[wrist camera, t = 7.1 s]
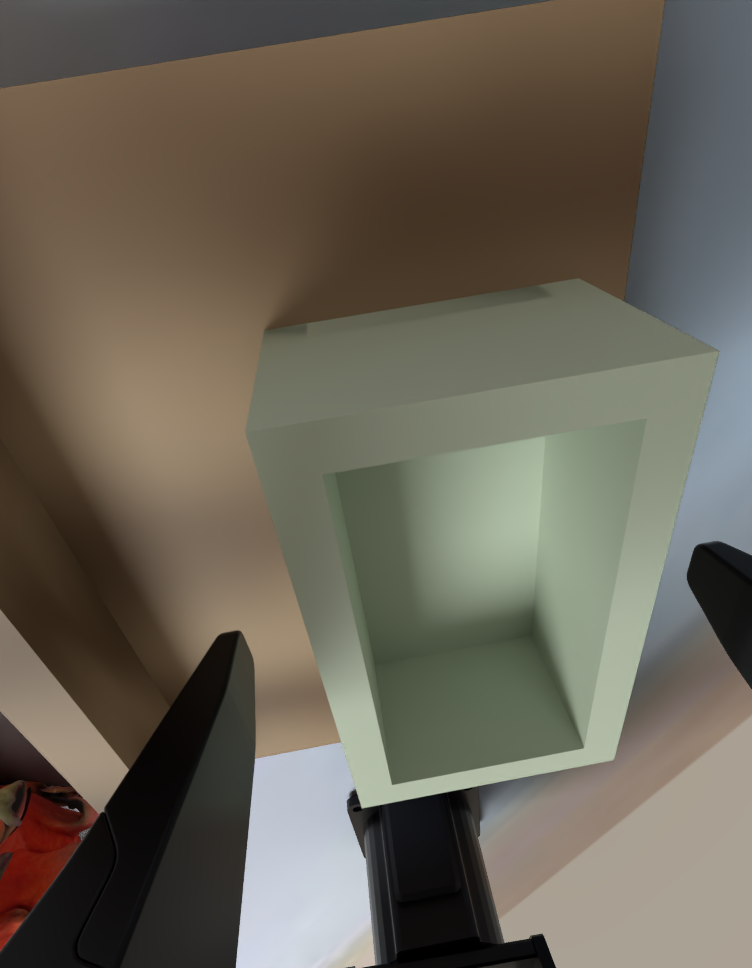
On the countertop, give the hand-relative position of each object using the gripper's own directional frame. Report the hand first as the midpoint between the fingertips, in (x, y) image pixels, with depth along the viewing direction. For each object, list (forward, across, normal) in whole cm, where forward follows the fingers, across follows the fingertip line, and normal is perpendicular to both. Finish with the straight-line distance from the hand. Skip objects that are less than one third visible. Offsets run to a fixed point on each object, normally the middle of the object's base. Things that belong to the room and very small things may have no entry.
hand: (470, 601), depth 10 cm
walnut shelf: (+6, +3, 0) cm, 7 cm away
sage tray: (+3, 0, 0) cm, 3 cm away
